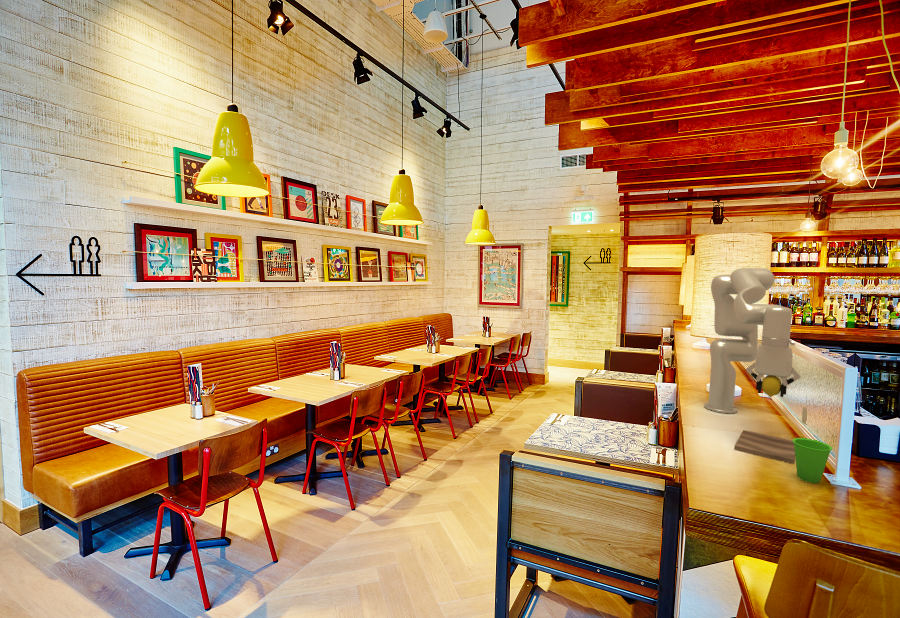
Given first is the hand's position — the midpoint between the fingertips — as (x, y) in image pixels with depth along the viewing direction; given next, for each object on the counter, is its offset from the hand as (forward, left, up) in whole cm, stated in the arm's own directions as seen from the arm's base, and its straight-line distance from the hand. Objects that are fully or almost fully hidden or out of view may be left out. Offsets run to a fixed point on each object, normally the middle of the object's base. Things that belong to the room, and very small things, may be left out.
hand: (770, 393), depth 148 cm
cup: (+20, +12, -19) cm, 31 cm away
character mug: (-18, +12, -19) cm, 29 cm away
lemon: (0, 0, -1) cm, 1 cm away
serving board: (0, 0, -19) cm, 19 cm away
